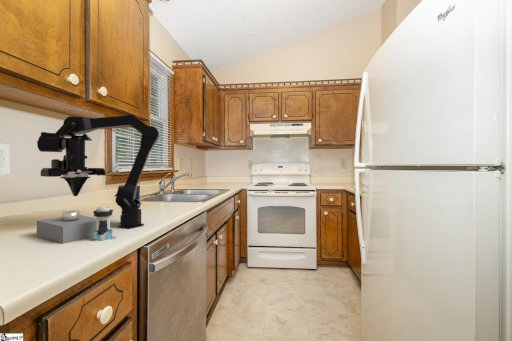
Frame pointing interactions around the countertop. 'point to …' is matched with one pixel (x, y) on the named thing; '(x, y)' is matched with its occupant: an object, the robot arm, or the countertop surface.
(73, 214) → the knob
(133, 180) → the robot arm
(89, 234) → the panel
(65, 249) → the countertop surface
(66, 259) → the countertop surface
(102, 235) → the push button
